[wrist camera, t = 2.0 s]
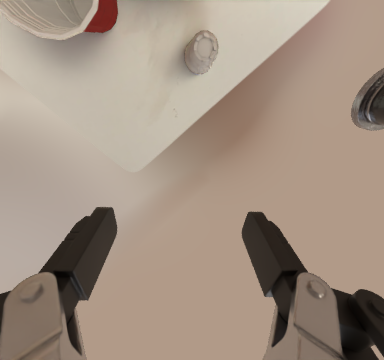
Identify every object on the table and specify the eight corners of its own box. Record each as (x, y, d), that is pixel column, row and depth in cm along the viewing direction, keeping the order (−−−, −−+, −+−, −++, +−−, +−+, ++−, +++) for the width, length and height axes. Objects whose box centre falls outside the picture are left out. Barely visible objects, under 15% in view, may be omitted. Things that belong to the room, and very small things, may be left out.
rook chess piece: (209, 77, 26) (219, 75, 19) (182, 71, 26) (182, 66, 19) (216, 42, 24) (230, 26, 17) (187, 34, 23) (189, 14, 16)
